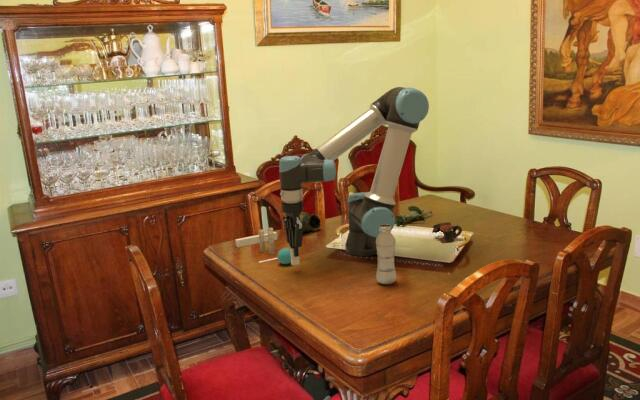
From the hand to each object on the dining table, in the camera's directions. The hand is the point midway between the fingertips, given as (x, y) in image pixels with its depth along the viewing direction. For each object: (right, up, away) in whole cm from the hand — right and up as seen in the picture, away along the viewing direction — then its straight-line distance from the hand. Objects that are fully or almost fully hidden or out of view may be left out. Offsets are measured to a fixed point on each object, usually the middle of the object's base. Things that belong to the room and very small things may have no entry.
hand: (295, 264), depth 201 cm
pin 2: (-11, +3, +26) cm, 28 cm away
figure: (+51, +13, +55) cm, 76 cm away
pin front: (-10, +2, +21) cm, 24 cm away
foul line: (-7, 0, +15) cm, 17 cm away
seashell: (+3, +8, +46) cm, 47 cm away
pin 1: (-14, +2, +24) cm, 28 cm away
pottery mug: (+61, +7, +27) cm, 67 cm away
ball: (-4, +2, +8) cm, 9 cm away
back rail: (-18, +5, +36) cm, 40 cm away
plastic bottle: (+31, -5, -14) cm, 34 cm away
